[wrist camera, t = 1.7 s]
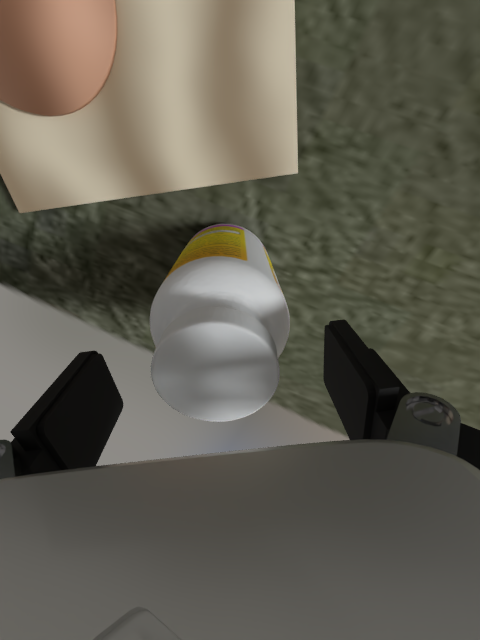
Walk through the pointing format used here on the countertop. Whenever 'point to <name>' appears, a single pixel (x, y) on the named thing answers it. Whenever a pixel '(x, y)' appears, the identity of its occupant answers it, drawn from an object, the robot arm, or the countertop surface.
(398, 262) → the countertop surface
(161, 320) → the supplement bottle
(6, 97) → the seat board
